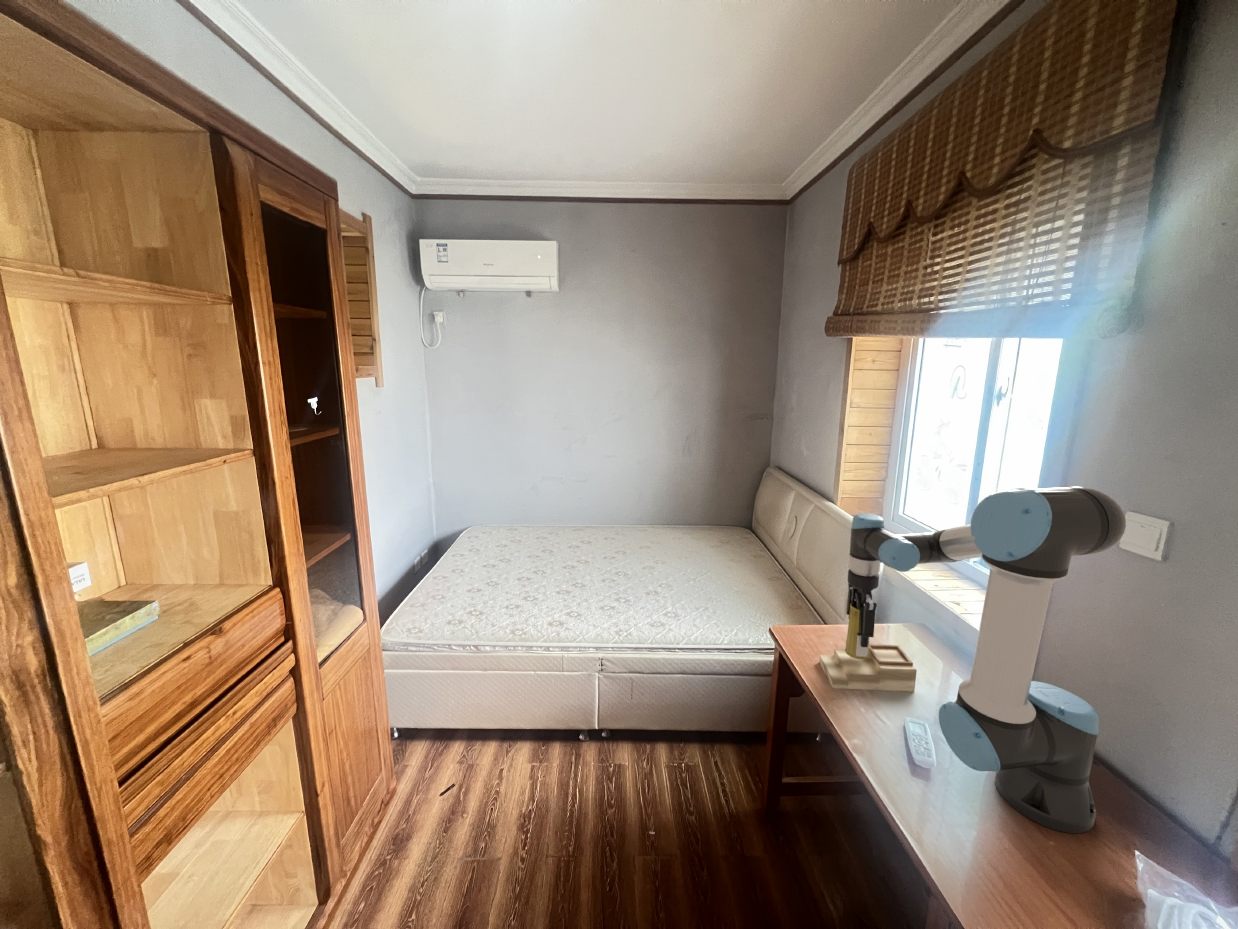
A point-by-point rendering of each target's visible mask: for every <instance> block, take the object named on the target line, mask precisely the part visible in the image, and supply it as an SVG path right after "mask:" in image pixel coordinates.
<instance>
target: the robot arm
mask: <svg viewBox="0 0 1238 929" xmlns="http://www.w3.org/2000/svg"><path fill="white" fill-rule="evenodd" d="M973 510H974V511H973V513H972V515H971V520H970V523H969V524H965V525H960V526H956V527H952V528H948V529H943V530H937V531H930V532H927V531H926V532H910V533H896V534H895V533H892V532H891V531H889V530H886V529H885V521H884V518H883V517H882V516H880V515H877V514H873V513H869V512H868V513H867V512H865V513H857V514H855V515H854V516H853V517H852V522H851V527H850V540H849V542H850V543H849V544H850V545H849V554H848V570H847V582H848V583H847V585H848V593H847V603H846V615H847V616H848V619H849V615H850V604H851V603H852V602H853V606H854V607H856V608H857V609H859V633H857V635H858V636H857V648H856V656H859V657H867V655H868V644H870V638H875V637H874V636H875V635H874V634H875V622H876V620H875V619H876V610H877V605H878V604H877V602H875V601H873V594H872V591H873V590H875V589H877V588H878V587H879V583H880V582H879V581H880V574H879V573H880V571H881V570H880V569H881V564H883V565H884V566H885V567H888V568H890V569H893V570H894V571H897V572H900V573H901V572H902V573H903V572H909V571H910V570H912V569H914V568H915V567H916V566H917V565H921V564H923V565H924V564H934V563H935V564H936V563H937V564H938V563H955V562H960V561H963V560H969V559H979V558H981V559H982V561H983V562H984V563H985V564H986V565H987V567H989V568H990V570H989V574H988V580H987V584H986V585H987V586H986V592H985V597H984V602H983V607H982V614H981V617H980V618H981V619H980V623H979V624H980V625H979V629H978V634H977V635H978V636H977V640H976V645H975V651H974V657H973V663H972V668H971V673H970V678H968V679H965V680H963V681H962V682H960V683H959V685H958V691H957V696H956V700H955V701H954V702H953V701H947V702H946V703H943V704H941V706H940V707H939V710H938V722H939V727H940V731H941V733H942V735H943V737H944V739H945V741H946V743H947V745H948V746H949V749H951V750H950V751H951V752H953V754H954V755H955V756H956V757H957V758H958V759H959V761H960V762H961V763H963V764H964V765H965V766H967V767H968V768H969V769H972V770H974V771H977V772H994V773H995V776H994V783H995V784H994V785H995V787H996V789H997V791H998V793H999V794H1000V796H1001V797H1002V798H1003V799H1004V800H1005V802H1006V803H1007V804H1009V805H1010V806H1011V807H1012V808H1013V809H1015V810H1016V811H1017V812H1018V813H1020V814H1021V815H1023V816H1024V817H1026V818H1028V819H1030V820H1031V821H1033V822H1035V823H1036V824H1039V825H1041V826H1044V827H1047V828H1049V829H1051V830H1054V831H1058V832H1062V833H1067V834H1083V833H1087V832H1089V831H1090V830H1091V829H1092V828H1093V827H1094V825H1095V819H1096V815H1097V814H1096V813H1097V810H1096V805H1095V802H1094V798H1093V795H1092V791H1091V787H1090V783H1089V779H1090V773H1091V770H1092V763H1093V760H1094V759H1093V758H1094V754H1095V749H1096V743H1097V738H1098V735H1099V734H1100V730H1099V724H1100V723H1099V722H1100V718H1099V715H1098V713H1097V711H1096V710H1095V709H1094V707H1093V706H1092V705H1090V703H1089V702H1087V701H1086V700H1084V699H1082V698H1081V697H1079V696H1077V695H1076V694H1074V693H1072V692H1070V691H1068V690H1066V689H1064V688H1060V687H1058V686H1056V685H1053V684H1050V683H1046V682H1042V681H1035V680H1033V676H1034V671H1035V668H1036V663H1037V657H1038V653H1039V648H1040V644H1041V638H1042V634H1043V631H1044V626H1045V622H1046V621H1045V620H1046V617H1047V612H1048V607H1049V602H1050V597H1051V594H1052V588H1053V584H1054V583H1056V582H1058V581H1060V580H1061V581H1062V580H1063V579H1065V578H1066V577H1067V576H1068V572H1069V568H1070V565H1071V560H1072V557H1074V556H1075V557H1077V556H1085V555H1093V554H1097V553H1101V552H1104V551H1107V550H1108V549H1110V548H1112V547H1113V546H1115V545H1116V544H1117V543H1119V542H1120V540H1121V539H1122V538H1123V535H1124V534H1125V532H1126V529H1127V528H1126V527H1127V519H1126V516H1125V513H1124V511H1123V508H1122V507H1121V506H1120V504H1119V503H1118V502H1117V501H1116V500H1114V498H1112V497H1111V496H1109V495H1108V494H1106V493H1104V492H1103V491H1102V492H1101V491H1099V490H1096V489H1093V488H1090V487H1084V486H1065V487H1064V486H1063V487H1047V488H1044V487H1043V488H1040V487H1039V488H1024V487H1022V488H1021V487H1019V488H1013V489H1008V490H1001V491H997V492H993V493H991V494H989V495H988V496H985V497H984V498H983V499H982V500H981V501H979V503H978V504H977V506H976V507H975V509H973Z"/></svg>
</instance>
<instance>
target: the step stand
mask: <svg viewBox="0 0 1238 929" xmlns="http://www.w3.org/2000/svg"><path fill="white" fill-rule="evenodd" d="M818 662H819V664H820V667H821V668H822V670H823V672H824V675H825V676H826V678H827V680H828V682H829V684H830V686H831V688H832V689H841V690H842V689H845V690H866V691H867V690H869V691H887V692H888V691H890V692H910V693H913V692H914V693H915V688H916V679H917V668H916V667H915V666H914V663H913V661H912V659H910V658H909V657H908V655H907V654H906V653H905V651H903V649H902V648H901V646H899V645H897V644H883V643H882V644H880V643H869V657H868V658H867V659H855V658H852V657H850V656H849V655H847V654H846V652H845V648H842V649H841V648H834V652H833V654H819V661H818Z"/></svg>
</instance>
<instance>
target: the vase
mask: <svg viewBox="0 0 1238 929" xmlns="http://www.w3.org/2000/svg"><path fill="white" fill-rule="evenodd" d="M848 617H849V618H848V626H847V634H846V640H845V648H844V649H845V652H846V654H847V655H849V656H850V657H852V658H855V659H867V658H868V657H869V644H870V643H869V644H868V655H867V657H859V656H856V648H857V636H858V635H857V633H859V609H857V608H856V607H854V606H853V602H852V603H851V604H850V615H848Z"/></svg>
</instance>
